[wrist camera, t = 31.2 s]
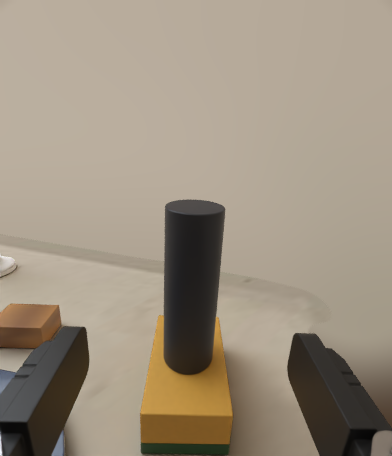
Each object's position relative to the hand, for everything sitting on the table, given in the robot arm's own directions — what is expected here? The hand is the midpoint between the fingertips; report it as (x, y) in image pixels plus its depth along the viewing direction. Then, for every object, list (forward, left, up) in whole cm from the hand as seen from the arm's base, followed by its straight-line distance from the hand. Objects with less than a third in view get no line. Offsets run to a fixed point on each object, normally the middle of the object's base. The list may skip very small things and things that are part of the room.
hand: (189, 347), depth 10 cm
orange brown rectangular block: (-10, +13, -9) cm, 19 cm away
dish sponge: (+2, +5, -9) cm, 10 cm away
